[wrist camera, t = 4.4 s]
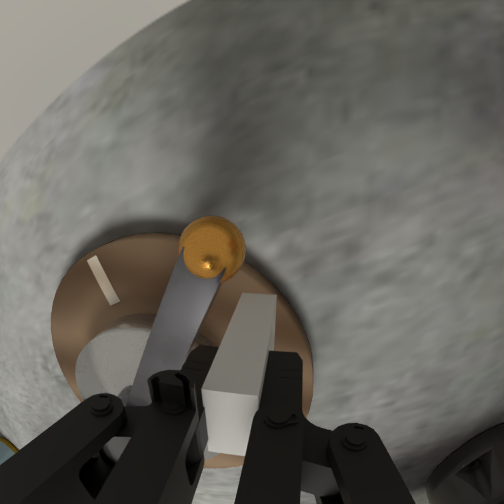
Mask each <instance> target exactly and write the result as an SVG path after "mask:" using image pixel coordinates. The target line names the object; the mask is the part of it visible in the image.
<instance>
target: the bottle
mask: <svg viewBox="0 0 504 504" xmlns="http://www.w3.org/2000/svg"><path fill="white" fill-rule="evenodd" d="M18 451H19V450H18V449H17V448H16V447H15V446H14V445H13V444H12V443H10V442H9V441H8V440H6V439H4V438H0V465H1V464H2V463H3V462H5V461H6V460H7V459H9V458H10V457H11V456H13V455H14V454H15V453H17V452H18Z"/></svg>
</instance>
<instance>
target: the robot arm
mask: <svg viewBox="0 0 504 504" xmlns="http://www.w3.org/2000/svg"><path fill="white" fill-rule="evenodd" d="M276 298H277V295H270V294H254V293H242V294H241V297H240V299H239V302H238V304H237V306H236V309H235V311H234V313H233V316H232V318H231V321H230V323H229V325H228V328H227V330H226V332H225V335H224V337H223V339H222V342H221V344H220V347H215V346H206V345H199V346H197V347H196V348H195V349H193V350H192V351H190V353H189V355H188V357H187V359H186V362H184V364H183V366H182V369H180V371H179V370H164V371H159V372H157V373H155V374H153V375H152V376H151V377H149V378H148V379H147V382H148V387H149V392H150V396H151V401H152V402H151V404H150V405H148V406H124V405H123V403H122V400H121V399H120V398H119V397H117V396H116V395H113V394H109V393H99V394H95V395H92V396H90V397H89V398H87V399H85V400H84V401H83V402H82V403H80V404H79V405H78V406H76V407H75V408H74V409H73V410H71V411H70V412H69V413H67V414H66V415H65V416H63V417H62V418H61V419H60V420H58V421H57V422H56V423H54V424H53V425H52V426H51V427H49V428H48V429H47V430H45V431H44V432H43V433H41V434H40V435H39V436H37V437H36V438H35V439H34V440H32V441H31V442H30V443H28V444H27V445H26V446H24V447H23V448H22V449H20V450H19V451H18V452H17V453H15V454H14V455H13V456H11V457H10V458H9V459H7V460H6V461H5V462H3V463H2V464H1V465H0V504H191V503H192V500H193V497H194V494H195V491H196V488H197V485H198V482H199V479H200V476H201V473H202V470H203V467H204V460H205V458H204V450H205V447H206V444H208V451H211V452H218V453H224V454H232V455H239V456H245V458H244V463H243V468H242V472H241V477H240V481H239V485H238V490H237V494H236V499H235V503H234V504H300V492H301V491H304V492H307V493H311V494H314V495H315V498H316V502H317V504H415V502H414V500H413V498H412V496H411V494H410V492H409V490H408V489H407V487H406V485H405V483H404V481H403V479H402V477H401V476H400V474H399V472H398V470H397V468H396V466H395V464H394V463H393V461H392V459H391V457H390V455H389V453H388V452H387V450H386V448H385V446H384V444H383V442H382V441H381V439H380V437H379V435H378V434H377V433H376V432H375V431H374V429H372V428H370V427H368V426H367V425H363V424H359V423H347V424H344V425H341V426H338V427H337V428H336V429H335V430H333V431H331V430H327V429H324V428H320V427H318V426H315V425H314V424H312V423H310V422H309V421H308V420H307V419H306V418H305V416H304V414H303V410H302V391H303V360H302V359H301V357H300V356H299V354H298V353H297V352H284V351H274V339H275V319H276ZM426 492H427V496H428V500H429V503H430V504H504V423H503V424H501V425H498V426H496V427H494V428H492V429H490V430H488V431H486V432H484V433H482V434H480V435H479V436H477V437H475V438H474V439H472V440H471V441H469V442H468V443H466V444H465V445H463V446H462V447H461V448H459V449H458V450H457V451H455V452H454V453H453V454H451V455H450V456H449V457H448V458H447V459H446V460H445V461H443V462H442V463H441V464H440V465H439V466H438V467H437V469H436V470H435V471H434V472H433V473H432V475H431V476H430V478H429V480H428V482H427V484H426Z"/></svg>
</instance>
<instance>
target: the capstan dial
mask: <svg viewBox="0 0 504 504" xmlns="http://www.w3.org/2000/svg"><path fill="white" fill-rule="evenodd" d="M245 255H246V246H245V241H244V237H243V235H242V233H241V232H240V230H239V229H238V228H237V226H236V225H235V224H233V223H232V222H231V221H229V220H227V219H225V218H223V217H219V216H205V217H201V218H198V219H196V220H194V221H193V222H191V223H190V224H189V225H188V226H187V227H186V228H185V229H184V231H183V232H182V234H181V236H180V239H179V242H178V260H177V262H176V265H175V267H174V270H173V272H172V275H171V278H170V280H169V283H168V285H167V288H166V291H165V293H164V296H163V299H162V301H161V304H160V307H159V310H158V312H157V315H152V314H132V315H127V316H123V317H121V318H118V319H116V320H114V321H113V322H111V323H110V324H109V325H108V326H106V327H105V328H104V329H103V330H102V331H101V332H100V333H99V334H98V335H97V336H95V337H94V338H93V339H92V340H91V341H90V342H89V343H88V344H87V345H86V346H85V347H84V348H83V349H82V351H81V352H80V354H79V356H78V358H77V362H76V369H75V375H76V382H77V386H78V389H79V392H80V395H81V397H82V399H83V401H84V400H85V399H87V398H89V397H90V396H92V395H95V394H99V393H109V394H113V395H116V396H117V397H119V398H120V399H121V400H122V403H123V405H124V406H148V405H150V404H151V402H152V401H151V396H150V392H149V387H148V382H147V379H148V378H149V377H151V376H152V375H153V374H155V373H157V372H159V371H164V370H179V371H180V369H182V366H183V364H184V362H186V359H187V357H188V355H189V353H190V351H192V350H193V349H195V348H196V347H197V346H199V345H206V346H215V345H214V344H213V343H212V342H211V341H210V340H209V339H207V338H206V337H205V336H203V335H202V334H200V333H199V332H200V330H201V328H202V326H203V324H204V322H205V319H206V317H207V315H208V313H209V311H210V309H211V307H212V305H213V302H214V300H215V298H216V296H217V294H218V292H219V290H220V288H221V285H222V283H223V282H225V281H227V280H229V279H231V278H232V277H233V276H234V275H235V274H237V272H238V271H239V270H240V268H241V267H242V265H243V262H244V259H245ZM215 347H217V346H215ZM218 454H219V453H218V452H211V451H208V444H206V447H205V450H204V458H205V460H207V459H210V458H212V457H215V456H217V455H218Z"/></svg>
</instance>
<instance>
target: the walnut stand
mask: <svg viewBox="0 0 504 504" xmlns="http://www.w3.org/2000/svg"><path fill="white" fill-rule="evenodd" d="M180 236H181V235H178V234H168V233H141V234H136V235H131V236H126V237H122V238H120V239H117V240H115V241H112V242H109V243H107V244H105V245H103V246H101V247H99V248H97V249H95V250H93V251H92V252H90V253H88V254H87V255H85V256H84V257H82V258H81V259H80V260H78V261H77V262H76V263H75V264H74V265H73V266H72V267H71V268H70V269H69V271H68V272H67V273H66V275H65V276H64V277H63V279H62V281H61V283H60V285H59V287H58V289H57V291H56V294H55V298H54V301H53V306H52V313H51V333H52V341H53V346H54V350H55V354H56V357H57V360H58V362H59V365H60V368H61V370H62V372H63V374H64V376H65V378H66V380H67V382H68V384H69V385H70V387H71V389H72V390H73V392H74V393H75V395H76V396H77V398H78V399H79V400H80V402H81V403H82V402H83V399H82V397H81V395H80V392H79V389H78V386H77V382H76V375H75V369H76V362H77V358H78V356H79V354H80V352H81V351H82V349H83V348H84V347H85V346H86V345H87V344H88V343H89V342H90V341H91V340H92V339H93V338H94V337H95V336H97V335H98V334H99V333H100V332H101V331H102V330H103V329H104V328H105V327H106V326H108V325H109V324H110V323H111V322H113V321H114V320H116V319H118V318H121V317H123V316H127V315H132V314H152V315H157V312H158V310H159V307H160V304H161V301H162V299H163V296H164V293H165V291H166V288H167V285H168V283H169V280H170V278H171V275H172V272H173V270H174V267H175V265H176V262H177V260H178V242H179V239H180ZM242 293H254V294H270V295H277V298H276V319H275V339H274V351H284V352H297V353H298V354H299V356H300V357H301V359H302V360H303V391H302V410H303V414H304V416H305V418H306V417H307V415H308V412H309V409H310V405H311V401H312V396H313V364H312V356H311V349H310V346H309V342H308V339H307V336H306V333H305V331H304V329H303V326H302V324H301V322H300V320H299V318H298V316H297V315H296V313H295V312H294V310H293V309H292V307H291V305H290V304H289V302H288V301H287V300H286V298H285V297H284V296H283V295H282V294H281V293H280V292H279V290H278V289H277V288H276V287H275V286H274V285H273V284H272V283H271V282H270V281H269V280H268V279H267V278H265V277H264V276H263V275H262V274H261V273H260V272H259V271H258V270H256V269H255V268H253V267H252V266H251V265H249V264H248V263H246V262H245V261H244V262H243V265H242V267H241V268H240V270H239V271H238V272H237V274H235V275H234V276H233V277H232V278H231V279H229V280H227V281H225V282H223V283H222V285H221V288H220V290H219V292H218V294H217V296H216V298H215V300H214V302H213V305H212V307H211V309H210V311H209V313H208V315H207V317H206V319H205V322H204V324H203V326H202V328H201V330H200V332H199V333H200V334H202V335H203V336H205V337H206V338H207V339H209V340H210V341H211V342H212V343H213V344H214V345H215V346H217V347H220V344H221V342H222V339H223V337H224V335H225V332H226V330H227V328H228V325H229V323H230V321H231V318H232V316H233V313H234V311H235V309H236V306H237V304H238V302H239V299H240V297H241V294H242ZM244 458H245V456H239V455H232V454H224V453H219V454H218V455H217V456H215V457H212V458H210V459H207V460H204V467H203V468H228V467H236V466H241V465H243V463H244Z"/></svg>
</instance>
